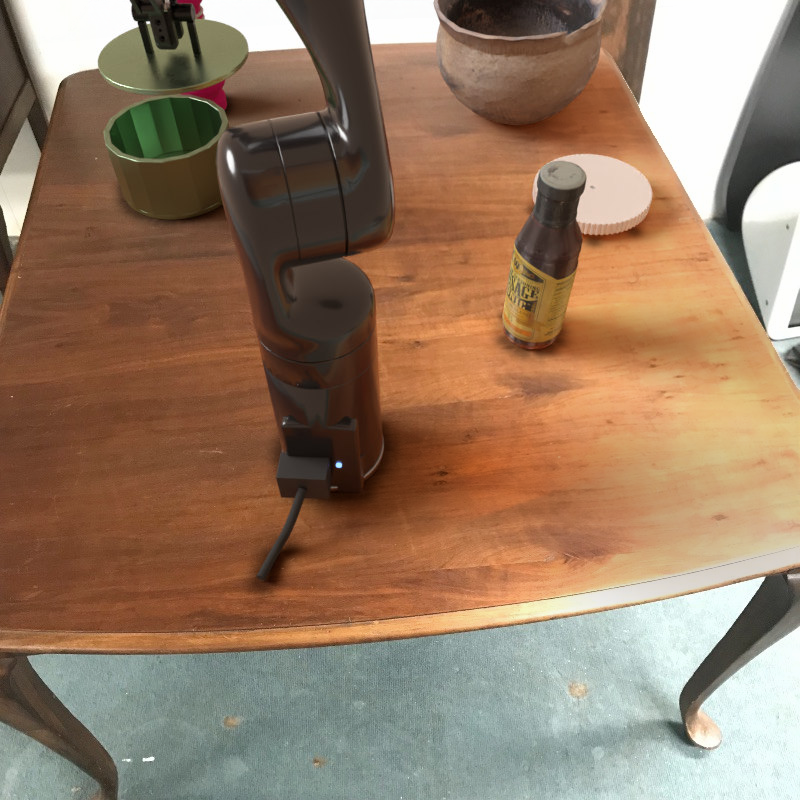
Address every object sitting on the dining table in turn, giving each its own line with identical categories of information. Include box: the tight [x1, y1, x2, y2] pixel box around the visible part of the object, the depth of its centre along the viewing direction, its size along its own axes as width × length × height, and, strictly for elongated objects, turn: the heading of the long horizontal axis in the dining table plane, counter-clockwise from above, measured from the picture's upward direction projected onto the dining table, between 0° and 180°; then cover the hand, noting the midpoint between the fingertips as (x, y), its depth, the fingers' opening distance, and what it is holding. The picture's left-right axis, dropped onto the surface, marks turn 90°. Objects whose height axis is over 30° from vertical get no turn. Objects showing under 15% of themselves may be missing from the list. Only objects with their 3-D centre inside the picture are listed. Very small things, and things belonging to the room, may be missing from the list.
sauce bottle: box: [501, 160, 587, 350], centre depth 73 cm, size 6×6×20 cm
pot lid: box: [97, 3, 250, 97], centre depth 79 cm, size 15×15×6 cm
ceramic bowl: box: [432, 0, 611, 126], centre depth 103 cm, size 22×22×15 cm
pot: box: [103, 94, 230, 221], centre depth 95 cm, size 14×14×8 cm
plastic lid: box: [531, 153, 653, 236], centre depth 93 cm, size 14×14×2 cm
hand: (171, 42), depth 79 cm, fingers closed on pot lid
